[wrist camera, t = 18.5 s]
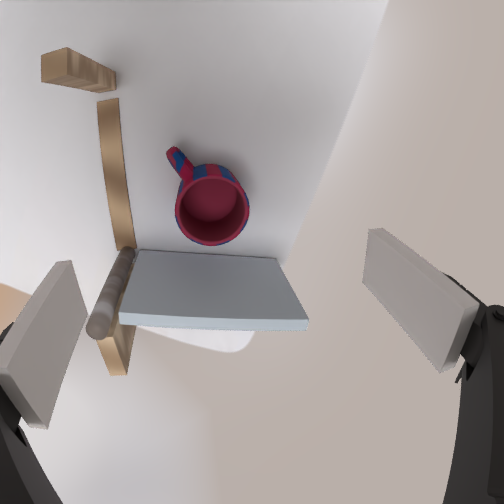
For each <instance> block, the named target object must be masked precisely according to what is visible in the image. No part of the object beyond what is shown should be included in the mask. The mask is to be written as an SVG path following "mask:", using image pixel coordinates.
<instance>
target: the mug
mask: <svg viewBox="0 0 504 504" xmlns="http://www.w3.org/2000/svg"><path fill="white" fill-rule="evenodd" d="M166 155H167V158H168V160H169V162H170V164H171V165H172V167H173V168H174V169H175V171H176V172H177V173H178V175H179V176H180V177H181V178H182V181H181V183H180V186H179V190H178V194H177V199H176V204H175V218H176V222H177V224H178V226H179V228H180V230H181V231H182V233H183V234H184V235H185V236H186V237H187V238H189V239H190V240H192V241H194V242H196V243H198V244H201V245H206V246H217V245H222V244H225V243H227V242H229V241H231V240H233V239H234V238H235V237H237V236H238V235H239V234H240V233H241V231H242V230H243V229H244V227H245V225H246V223H247V220H248V217H249V201H248V198H247V195H246V193H245V192H244V190H243V188H242V187H241V185H240V184H239V182H238V181H237V179H236V178H235V176H234V175H233V174H232V173H231V172H230V171H229V170H228V169H226V168H224V167H222V166H220V165H216V164H203V165H200V166H197V167H194V166H193V164H192V163H191V162H190V161H189V160H188V159H187V157H186V156H185V155H184V154H183V153H182V151H181V150H180V149H179V148H177V147H175V146H173V147H171V148H170V149H169V150H168V151H167V152H166Z"/></svg>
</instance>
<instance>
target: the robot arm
mask: <svg viewBox="0 0 504 504" xmlns="http://www.w3.org/2000/svg"><path fill="white" fill-rule="evenodd" d="M362 282H363V283H364V285H365V286H366V287H367V288H368V289H369V290H370V291H371V292H372V294H373V295H374V296H375V297H376V298H377V299H378V300H379V302H380V303H381V304H382V305H383V306H384V307H385V308H386V310H387V311H388V312H389V313H390V314H391V315H392V316H393V318H394V319H395V320H396V321H397V322H398V323H399V325H400V326H401V327H402V328H403V329H404V331H405V332H406V333H407V334H408V335H409V337H410V338H411V339H412V340H413V341H414V342H415V344H416V345H417V346H418V347H419V348H420V350H421V351H422V352H423V353H424V355H425V356H426V357H427V358H428V360H429V361H430V362H431V363H432V365H433V366H434V367H435V368H436V370H437V371H438V372H439V373H441V372H444V371H446V370H449V369H451V368H454V367H455V365H456V363H457V361H458V358H459V356H460V354H461V355H462V356H463V357H464V359H465V362H464V364H463V366H462V368H461V370H460V372H459V374H458V376H457V378H456V381H455V383H458V381H459V379H460V378H462V381H461V382H462V383H461V396H460V408H459V417H458V427H457V434H456V441H455V447H454V453H453V459H452V465H451V470H450V475H449V479H448V484H447V489H446V493H445V497H444V501H443V504H504V307H503V306H500V305H491V306H489V307H487V306H486V305H485V304H484V303H482V302H481V301H480V300H479V299H478V298H477V297H475V296H474V295H473V294H472V293H471V292H469V291H468V290H466V288H465V287H463V286H462V285H460V284H459V283H458V282H457V281H456V280H455V279H453V278H452V277H451V276H449V275H446V274H444V273H442V272H441V271H439V270H438V269H437V268H436V267H434V266H433V265H432V264H430V263H429V262H428V261H427V260H425V259H424V258H423V257H421V256H420V255H419V254H417V253H416V252H415V251H413V250H412V249H411V248H409V247H408V246H407V245H405V244H404V243H403V242H401V241H400V240H399V239H397V238H396V237H395V236H393V235H392V234H390V233H389V232H388V231H386V230H385V229H383V228H377V229H369V232H368V241H367V251H366V259H365V266H364V274H363V281H362ZM87 315H88V312H87V309H86V307H85V304H84V301H83V297H82V294H81V291H80V288H79V285H78V282H77V278H76V275H75V271H74V268H73V264H72V261H71V260H69V261H60V262H56V263H55V265H54V266H53V267H52V269H51V270H50V271H49V273H48V274H47V275H46V277H45V278H44V280H43V281H42V282H41V284H40V285H39V287H38V288H37V289H36V291H35V292H34V294H33V295H32V297H31V298H30V299H29V301H28V302H27V304H26V305H25V307H24V308H23V310H22V312H21V313H20V314H19V316H18V318H17V319H16V321H15V322H12V323H11V324H10V325H9V326H8V327H7V328H6V329H5V330H3V332H2V334H1V335H0V504H63V503H62V501H61V500H60V498H59V497H58V495H57V493H56V492H55V490H54V488H53V487H52V485H51V483H50V482H49V480H48V479H47V476H46V475H45V473H44V471H43V469H42V467H41V466H40V464H39V462H38V460H37V458H36V456H35V454H34V452H33V450H32V448H31V446H30V444H29V442H28V440H27V438H26V436H25V434H24V431H23V430H22V429H21V427H20V426H19V425H18V424H19V421H20V418H21V417H22V418H23V419H24V420H25V422H26V423H27V424H28V426H29V427H32V428H40V429H48V427H49V423H50V420H51V416H52V413H53V410H54V406H55V403H56V400H57V397H58V393H59V390H60V387H61V384H62V381H63V378H64V375H65V373H66V370H67V367H68V364H69V361H70V358H71V356H72V353H73V350H74V348H75V345H76V342H77V340H78V337H79V335H80V332H81V330H82V327H83V324H84V322H85V320H86V317H87Z"/></svg>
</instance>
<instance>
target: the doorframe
mask: <svg viewBox="0 0 504 504" xmlns="http://www.w3.org/2000/svg"><path fill="white" fill-rule="evenodd" d="M41 82H44V83H50V84H56V85H61V86H67V87H72V88H77V89H82V90H87V91H91V92H96V93H101V92H106V91H111V90H116V77H115V72H114V71H112V70H111V69H109V68H107V67H105V66H103V65H101V64H99V63H97V62H95V61H93V60H92V59H90V58H88V57H86V56H84V55H82V54H80V53H78V52H76V51H74V50H72V49H70V48H68V47H66V48H62V49H59V50H56V51H53V52H49V53H46V54H43V55H41ZM97 113H98V126H99V136H100V146H101V155H102V163H103V171H104V178H105V185H106V192H107V198H108V205H109V211H110V216H111V222H112V227H113V233H114V238H115V243H116V248H117V251H119V250H121V251H120V253H119V255H118V257H117V259H116V261H115V263H114V265H113V267H112V269H111V271H110V273H109V276H108V278H107V280H106V282H105V284H104V286H103V288H102V291H101V293H100V295H99V297H98V300H97V302H96V304H95V306H94V309H93V311H92V313H91V316H90V318H89V321H88V323H87V325H86V332H87V334H88V335H89V336H90V337H91V338H93V339H95V340H96V341H97V344H98V346H99V349H100V351H101V354H102V356H103V359H104V361H105V364H106V366H107V369H108V371H109V373H110V375H111V376H115V375H127V372H128V366H129V361H130V355H131V350H132V345H133V340H134V335H135V330H136V326H137V325H124V324H120V323H119V309H120V306H121V303H122V300H123V297H124V294H125V291H126V288H127V285H128V282H129V279H130V276H131V273H132V270H133V267H134V265H135V263H132V262H133V259H134V257H135V250H134V249H136V248H137V246H136V241H135V235H134V229H133V223H132V217H131V211H130V204H129V197H128V190H127V183H126V175H125V167H124V158H123V149H122V139H121V128H120V116H119V101H118V98H116V99H110V100H105V101H100V102H97Z"/></svg>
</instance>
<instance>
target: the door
mask: <svg viewBox="0 0 504 504" xmlns="http://www.w3.org/2000/svg"><path fill="white" fill-rule="evenodd" d="M308 322H309V318H308V316H307V315H306V313H305V311H304V309H303V307H302V306H301V303H300V302H299V300H298V298H297V296H296V294H295V293H294V291H293V289H292V287H291V286H290V284H289V282H288V280H287V278H286V276H285V274H284V273H283V271H282V269H281V267H280V265H279V264H278V262H277V260H276V259H274V258H258V257H242V256H226V255H210V254H194V253H179V252H164V251H149V250H140V251H139V254H138V256H137V259H136V262H135V265H134V267H133V270H132V273H131V276H130V279H129V282H128V285H127V288H126V291H125V294H124V297H123V300H122V303H121V306H120V309H119V323H120V324H124V325H137V326H150V327H165V328H183V329H206V330H242V331H306V329H307V326H308Z"/></svg>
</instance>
